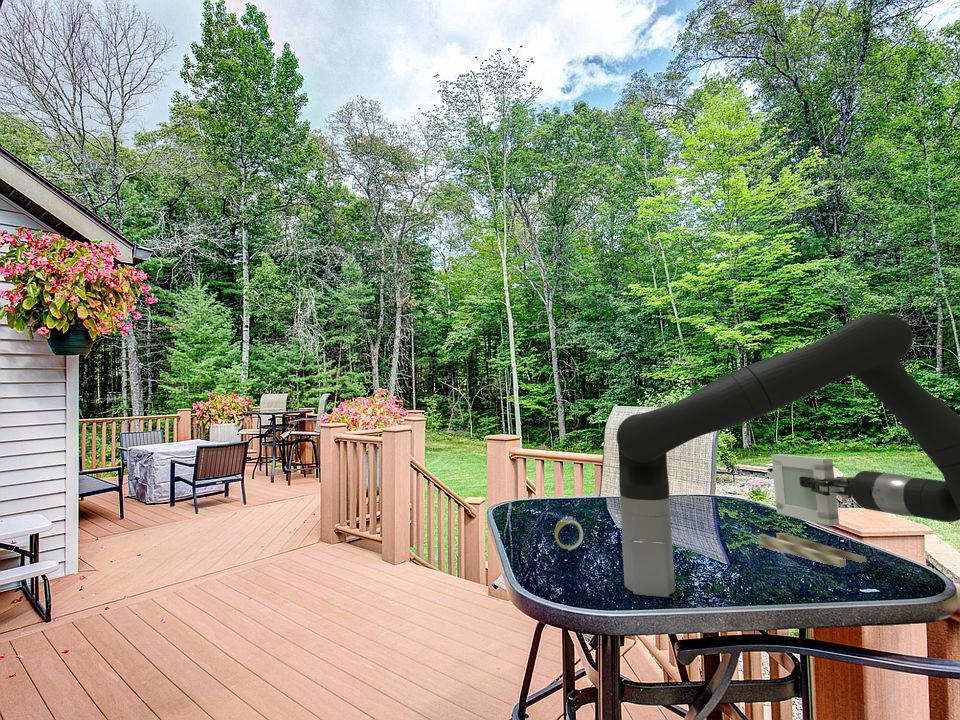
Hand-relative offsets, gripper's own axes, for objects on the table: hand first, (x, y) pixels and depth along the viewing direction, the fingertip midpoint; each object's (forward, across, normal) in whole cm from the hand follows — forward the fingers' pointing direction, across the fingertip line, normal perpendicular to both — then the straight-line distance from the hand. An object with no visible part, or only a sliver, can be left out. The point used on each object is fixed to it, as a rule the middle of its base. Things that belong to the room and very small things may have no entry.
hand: (806, 481), depth 105 cm
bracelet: (+23, +48, +17) cm, 57 cm away
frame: (+1, 0, +9) cm, 9 cm away
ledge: (+1, 0, +17) cm, 17 cm away
